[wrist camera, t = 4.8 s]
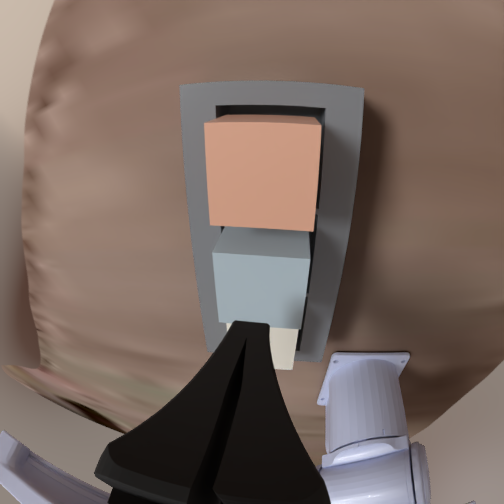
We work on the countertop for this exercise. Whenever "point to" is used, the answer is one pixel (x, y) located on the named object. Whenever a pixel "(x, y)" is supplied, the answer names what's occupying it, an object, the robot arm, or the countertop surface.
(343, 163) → the grey slotted frame
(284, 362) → the key ivory
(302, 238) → the key slate
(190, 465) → the robot arm
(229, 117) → the key terracotta
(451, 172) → the countertop surface
